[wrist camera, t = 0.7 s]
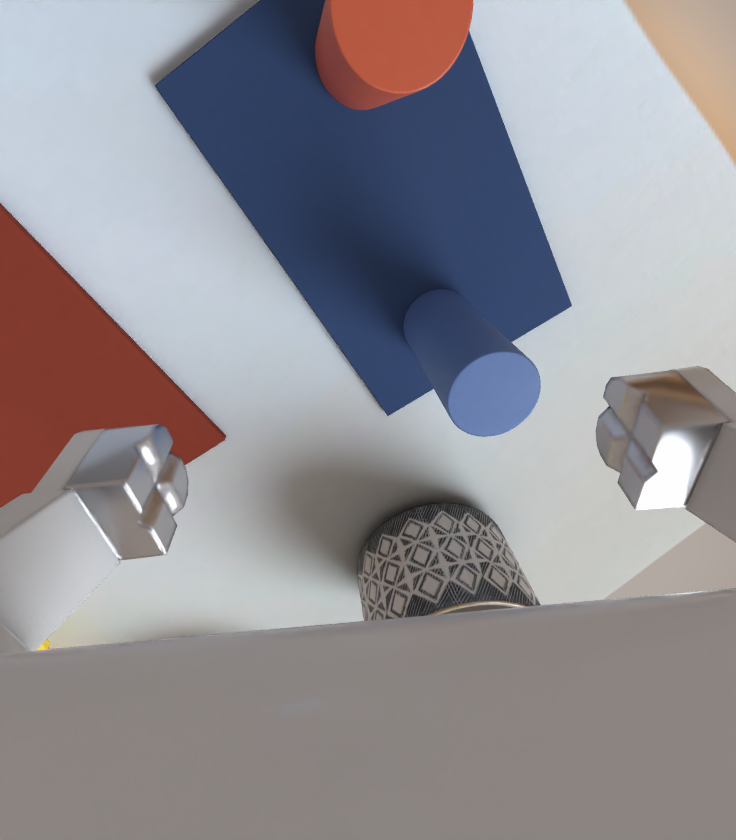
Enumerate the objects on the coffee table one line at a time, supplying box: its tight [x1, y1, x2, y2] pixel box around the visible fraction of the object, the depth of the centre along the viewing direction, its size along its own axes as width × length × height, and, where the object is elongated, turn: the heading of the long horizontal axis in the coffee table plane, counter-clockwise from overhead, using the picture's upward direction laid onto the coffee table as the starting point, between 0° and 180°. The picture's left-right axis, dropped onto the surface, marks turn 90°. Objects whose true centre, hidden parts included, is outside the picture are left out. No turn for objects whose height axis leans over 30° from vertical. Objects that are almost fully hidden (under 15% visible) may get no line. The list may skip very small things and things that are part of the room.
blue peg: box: [403, 289, 541, 437], centre depth 26 cm, size 4×4×10 cm
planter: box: [357, 503, 540, 621], centre depth 37 cm, size 13×13×10 cm
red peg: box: [315, 0, 473, 110], centre depth 19 cm, size 4×4×10 cm
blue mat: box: [155, 0, 572, 416], centre depth 27 cm, size 22×14×1 cm, turn 31°
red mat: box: [0, 204, 226, 508], centre depth 29 cm, size 18×16×1 cm
